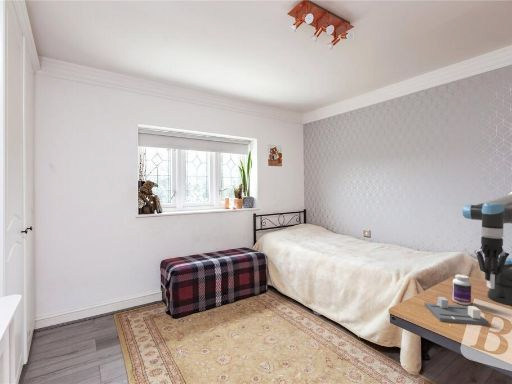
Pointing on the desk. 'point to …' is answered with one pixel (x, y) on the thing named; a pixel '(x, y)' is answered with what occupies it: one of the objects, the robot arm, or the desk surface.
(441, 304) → the fader grey
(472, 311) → the fader ivory
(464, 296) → the pill bottle
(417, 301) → the desk surface
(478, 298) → the desk surface
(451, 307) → the panel
